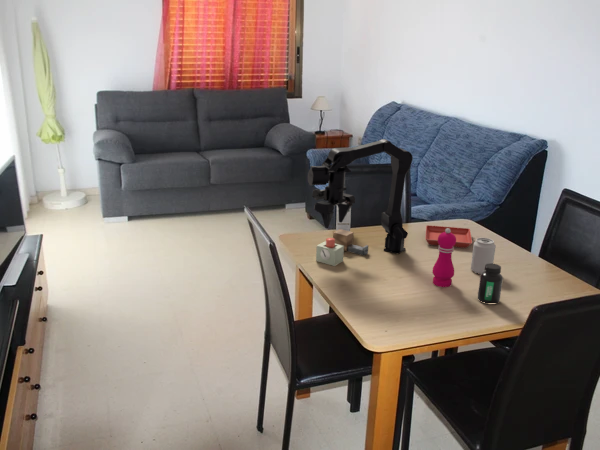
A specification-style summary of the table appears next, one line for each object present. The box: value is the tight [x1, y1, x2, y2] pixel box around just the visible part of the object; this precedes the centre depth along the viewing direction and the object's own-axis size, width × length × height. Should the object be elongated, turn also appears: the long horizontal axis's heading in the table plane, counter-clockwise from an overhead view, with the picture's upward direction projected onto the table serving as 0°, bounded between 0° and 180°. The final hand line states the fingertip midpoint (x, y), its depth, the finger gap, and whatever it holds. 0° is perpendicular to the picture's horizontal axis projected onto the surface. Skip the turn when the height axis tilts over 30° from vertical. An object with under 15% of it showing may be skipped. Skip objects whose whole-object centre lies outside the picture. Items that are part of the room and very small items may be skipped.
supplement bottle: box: [477, 262, 504, 304], centre depth 190 cm, size 7×7×12 cm
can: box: [470, 237, 496, 275], centre depth 212 cm, size 8×8×12 cm
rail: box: [346, 244, 369, 257], centre depth 230 cm, size 15×3×3 cm, turn 55°
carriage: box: [332, 229, 354, 252], centre depth 231 cm, size 6×5×6 cm
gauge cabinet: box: [315, 240, 345, 267], centre depth 218 cm, size 8×6×6 cm
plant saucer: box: [424, 225, 473, 249], centre depth 243 cm, size 18×18×3 cm
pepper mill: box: [431, 228, 456, 288], centre depth 200 cm, size 7×7×20 cm
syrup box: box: [335, 205, 352, 232], centre depth 246 cm, size 6×6×14 cm
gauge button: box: [325, 237, 335, 248], centre depth 217 cm, size 3×3×4 cm
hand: (333, 225), depth 219 cm, fingers open, 9 cm apart
